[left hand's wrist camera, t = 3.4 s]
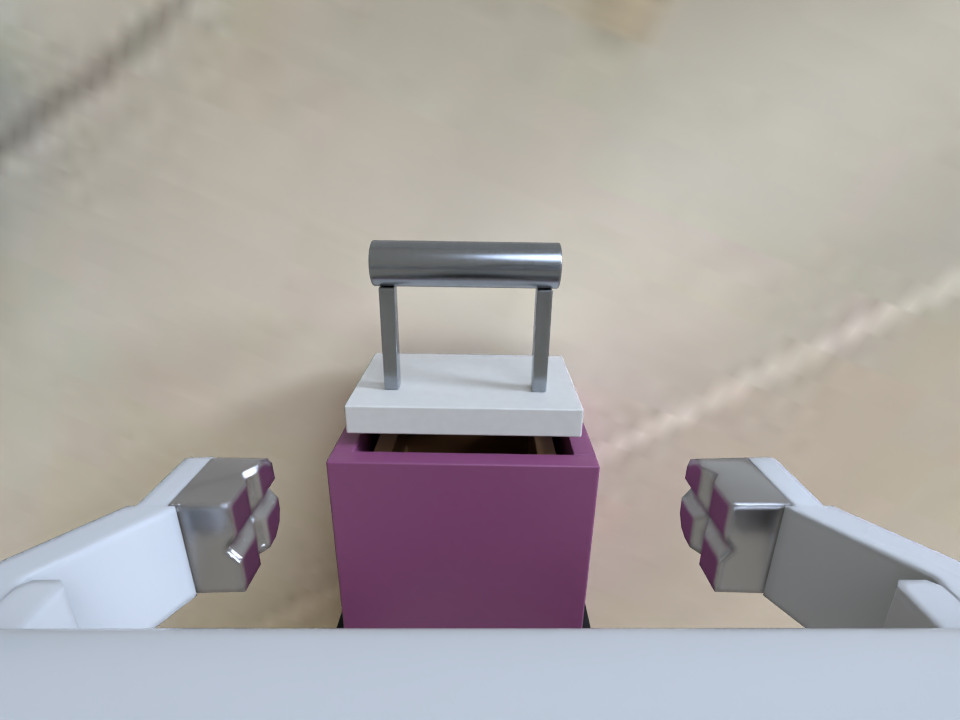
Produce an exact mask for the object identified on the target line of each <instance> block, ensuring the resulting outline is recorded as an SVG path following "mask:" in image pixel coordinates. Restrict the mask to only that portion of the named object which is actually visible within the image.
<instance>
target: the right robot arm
mask: <svg viewBox="0 0 960 720" xmlns="http://www.w3.org/2000/svg"><path fill="white" fill-rule="evenodd" d="M337 628H344V624H343V614H342V613H341V616H340V619H339V622H338V626H337ZM582 628H590V623H589V619H588V615H587V610H586V606H584V615H583V624H582Z"/></svg>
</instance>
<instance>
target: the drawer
mask: <svg viewBox="0 0 960 720" xmlns="http://www.w3.org/2000/svg"><path fill="white" fill-rule="evenodd" d="M561 272H562V249H561V245H560V243H538V242H468V241H398V240H373V241H372V242H371V244H370V248H369V274H370V279H371V282H372V284H373V285H374V286H380V287H379V302H380V319H381V336H382V353H376V354H375V355H374V357H373V359H372V360H371V362H370V364H369V365H368V367H367V369H366V370H365V372H364V374H363V376H362V377H361V379H360V381H359V382H358V384H357V386H356V387H355V389H354V391H353V392H352V394H351V396H350V398H349V399H348V401H347V403H346V404H345V406H344V408H345V419H346V431H347V433H374V434H380V437H379V439H378V442H377V444H376V447H375V449H374V452H421V453H481V454H542V455H556V453H555V448H554V444H553V440H552V436H558V437H581V434H582V423H583V412H584V410H583V408H582V405H581V403H580V400H579V398H578V395H577V393H576V390H575V388H574V385H573V383H572V380H571V378H570V375H569V373H568V370H567V368H566V365H565V363H564V360H563V358H562V356H549V341H550V325H551V309H552V294H553V291H552V289H557V288H558V287H559V285H560V280H561ZM397 286H410V287H477V288H536V293H535V312H534V332H533V351H532V356H527V355H462V354H400V353H399V331H398V309H397Z"/></svg>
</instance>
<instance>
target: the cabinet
mask: <svg viewBox="0 0 960 720" xmlns="http://www.w3.org/2000/svg"><path fill="white" fill-rule="evenodd" d="M379 437H380V434H374V433H347V431H346V427H345V429H344V431H343V432H342V434H341V436H340V438H339V440H338V442H337V444H336V445H335V447H334V449H333V451H332V453H331V455H330V456H329V458H328V460H327V462H326V465H327V474H328V483H329V493H330V502H331V511H332V521H333V530H334V540H335V549H336V558H337V568H338V577H339V586H340V596H341V605H342V614H343V624H344V628H582V624H583V615H584V606H585V597H586V588H587V579H588V570H589V560H590V551H591V542H592V533H593V524H594V515H595V506H596V497H597V488H598V478H599V469H600V467H599V464H598V461H597V459H596V456H595V453H594V450H593V447H592V445H591V442H590V440H589V437H588V434H587V432H586V429H585V426H584V424H583V423H582V434H581V437H558V436H552V440H553V444H554V448H555V453H556V455H542V454H481V453H421V452H374V449H375V447H376V444H377V442H378V439H379Z"/></svg>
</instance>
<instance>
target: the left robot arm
mask: <svg viewBox="0 0 960 720" xmlns="http://www.w3.org/2000/svg"><path fill="white" fill-rule="evenodd" d="M274 479H275V476H274V471H273V466H272V463H271V462H270V461H269V460H268V459H267V458H221V457H218V458H215V457H192V458H186V459H184V460H183V461H182V462H181V463H180V464H179V465H178V466H177V467H176V468H175V469H174V470H173V471H172V472H171V473H170V474H169V475H168V476H167V477H166V478H165V479H164V480H162V481H161V482H160V483H159V484H158V485H157V486H156V487H155V488H154V489H153V490H152V491H151V492H150V493H149V494H148V495H147V496H146V497H145V498H144V499H143V500H142V501H141V502H140V503H139V504H138V505H137V506H126V507H124V508H122V509H119V510H117V511H115V512H113V513H110V514H108V515H106V516H103V517H101V518H99V519H97V520H94V521H92V522H90V523H87V524H85V525H83V526H81V527H78V528H76V529H74V530H71V531H69V532H67V533H65V534H62V535H60V536H58V537H55V538H53V539H51V540H49V541H46V542H44V543H42V544H39V545H37V546H35V547H32V548H30V549H28V550H26V551H23V552H21V553H19V554H16V555H14V556H12V557H10V558H7V559H5V560H3V561H0V720H960V562H959V561H957V560H955V559H952V558H950V557H948V556H946V555H943V554H941V553H939V552H936V551H934V550H932V549H930V548H927V547H925V546H923V545H920V544H918V543H916V542H914V541H911V540H909V539H907V538H904V537H902V536H900V535H898V534H895V533H893V532H891V531H888V530H886V529H884V528H882V527H879V526H877V525H875V524H872V523H870V522H868V521H866V520H863V519H861V518H859V517H857V516H854V515H852V514H850V513H847V512H845V511H843V510H841V509H838V508H836V507H834V506H823V505H822V504H821V503H820V502H819V501H818V500H817V499H816V498H815V497H814V496H813V495H812V494H811V493H810V492H809V491H808V490H807V489H806V488H805V487H804V486H803V485H802V484H801V483H800V482H799V481H798V480H797V479H796V478H795V477H794V476H792V475H791V474H790V473H789V472H788V471H787V470H786V469H785V468H784V467H783V466H782V465H781V464H780V463H779V462H778V461H777V460H776V459H773V458H771V457H752V458H715V459H691V460H690V462H689V464H688V466H687V470H686V476H685V479H686V480H687V482H688V483H689V485H690V487H691V489H690V490H689V491H688V492H687V493H686V494H685V495H684V496H683V497H682V501H681V509H680V517H681V527H682V530H683V534H684V537H685V539H686V541H687V543H688V545H689V546H690V547H691V548H692V549H694V550H695V551H697V552H698V553H700V554H701V558H700V563H699V565H700V566H701V568H702V570H703V572H704V573H705V575H706V577H707V579H708V580H709V582H710V584H711V586H712V588H713V589H714V591H715V592H747V593H764V594H763V595H764V596H765V597H766V598H767V599H769V600H770V601H771V602H773V603H774V604H775V605H776V606H778V607H779V608H780V609H782V610H783V611H784V612H785V613H787V614H788V615H789V616H791V617H792V618H793V619H794V620H796V621H797V622H798V623H800V624H801V625H802V626H803V627H805V628H155V627H157V626H158V625H159V624H161V623H162V622H163V621H164V620H166V619H167V618H168V617H170V616H171V615H172V614H173V613H175V612H176V611H177V610H179V609H180V608H181V607H182V606H184V605H185V604H186V603H188V602H189V601H190V600H191V599H193V598H194V597H195V596H196V595H197V594H196V593H213V592H245V591H246V589H247V588H248V586H249V584H250V582H251V581H252V579H253V577H254V575H255V573H256V572H257V570H258V568H259V566H260V565H261V563H260V558H259V554H260V553H262V552H263V551H265V550H266V549H268V548H269V547H270V546H271V545H272V543H273V541H274V539H275V537H276V534H277V530H278V525H279V521H280V507H279V501H278V497H277V496H276V495H275V494H274V493H273V492H272V491H271V490H270V489H269V487H270V485H271V483H272V482H273V480H274Z"/></svg>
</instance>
